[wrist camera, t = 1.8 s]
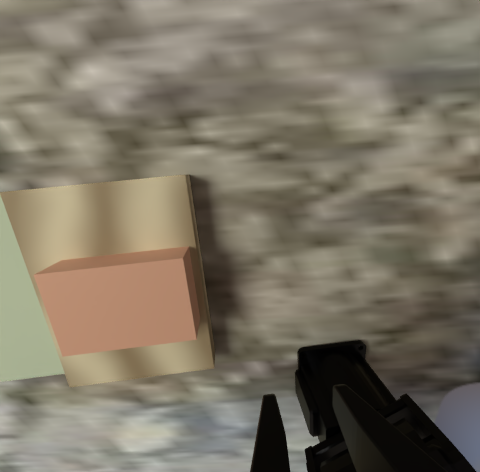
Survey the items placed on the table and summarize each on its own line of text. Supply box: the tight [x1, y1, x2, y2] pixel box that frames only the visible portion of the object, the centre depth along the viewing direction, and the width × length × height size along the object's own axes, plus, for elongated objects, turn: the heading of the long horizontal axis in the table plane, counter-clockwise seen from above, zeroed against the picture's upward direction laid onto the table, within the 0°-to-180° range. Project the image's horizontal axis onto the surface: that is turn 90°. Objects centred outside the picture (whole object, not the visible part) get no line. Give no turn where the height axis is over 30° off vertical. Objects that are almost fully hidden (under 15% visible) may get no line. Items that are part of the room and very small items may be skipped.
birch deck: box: [0, 175, 215, 387], centre depth 18 cm, size 12×16×2 cm
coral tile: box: [34, 246, 200, 357], centre depth 16 cm, size 9×6×2 cm, turn 95°
